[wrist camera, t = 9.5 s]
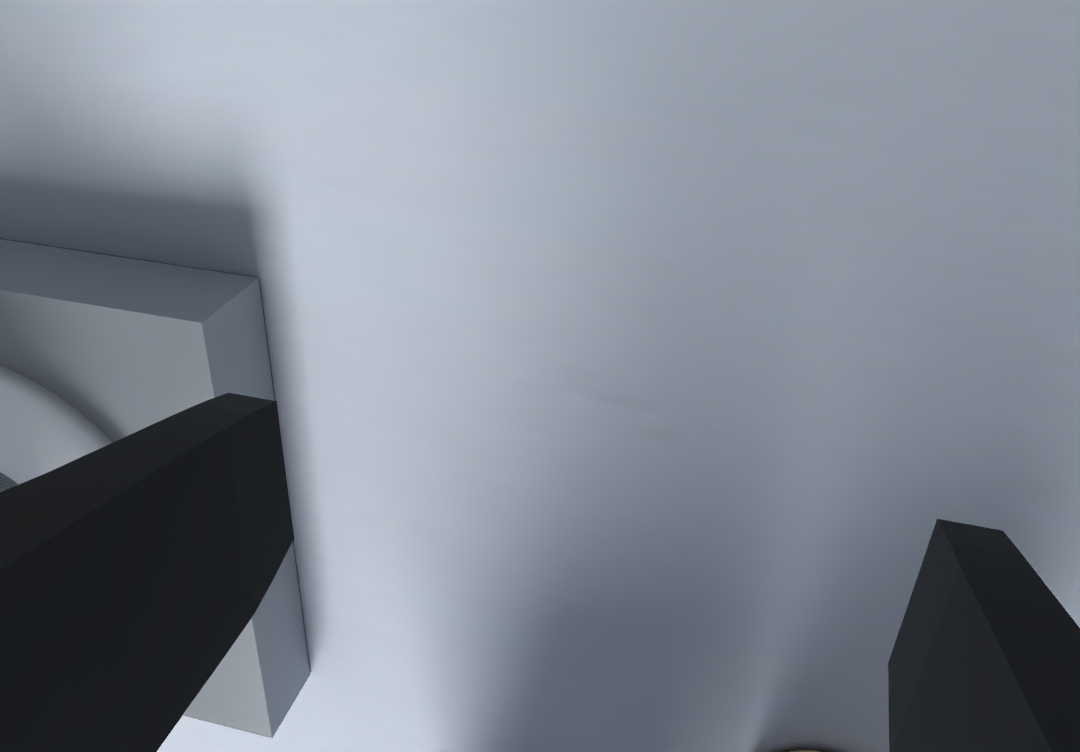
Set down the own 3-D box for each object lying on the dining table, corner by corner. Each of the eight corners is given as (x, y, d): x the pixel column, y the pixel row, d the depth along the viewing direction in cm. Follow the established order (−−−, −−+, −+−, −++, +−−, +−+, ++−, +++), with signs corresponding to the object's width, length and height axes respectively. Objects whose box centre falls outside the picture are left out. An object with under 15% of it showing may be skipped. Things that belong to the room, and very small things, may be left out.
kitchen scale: (310, 674, 29) (235, 799, 25) (-76, 582, 32) (-196, 682, 28) (258, 278, 22) (143, 368, 18) (-232, 204, 25) (-421, 268, 21)
